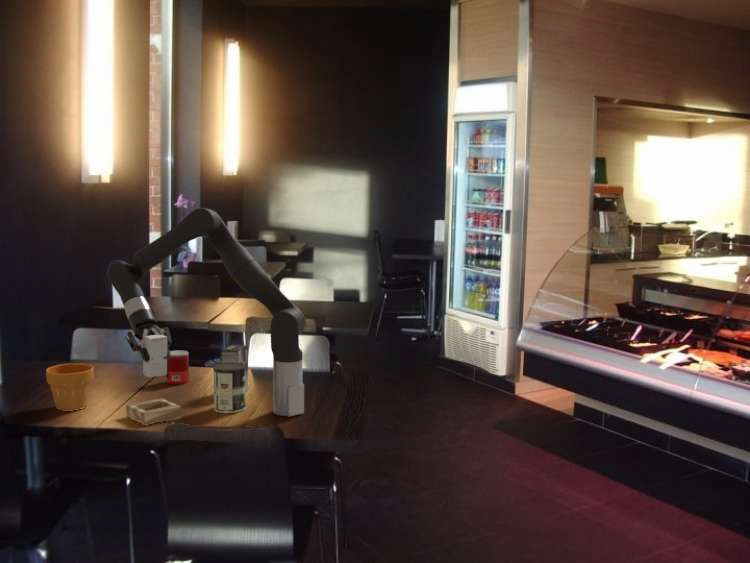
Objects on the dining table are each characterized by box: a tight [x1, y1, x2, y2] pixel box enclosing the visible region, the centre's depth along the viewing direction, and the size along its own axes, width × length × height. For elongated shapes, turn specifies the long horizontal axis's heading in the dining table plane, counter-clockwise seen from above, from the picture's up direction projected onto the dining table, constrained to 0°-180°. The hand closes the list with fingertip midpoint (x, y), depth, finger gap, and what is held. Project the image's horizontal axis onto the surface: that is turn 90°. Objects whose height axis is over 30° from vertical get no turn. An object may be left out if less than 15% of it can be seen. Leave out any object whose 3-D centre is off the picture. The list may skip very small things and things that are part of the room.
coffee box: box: [220, 344, 249, 393], centre depth 278 cm, size 9×6×16 cm
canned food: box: [165, 349, 190, 386], centre depth 291 cm, size 8×8×11 cm
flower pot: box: [45, 362, 95, 410], centre depth 257 cm, size 14×14×13 cm
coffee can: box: [212, 362, 247, 414], centre depth 259 cm, size 10×10×14 cm
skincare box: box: [142, 334, 167, 378], centre depth 248 cm, size 6×4×12 cm
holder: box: [125, 397, 182, 424], centre depth 249 cm, size 12×12×4 cm
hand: (157, 359), depth 246 cm, fingers closed on skincare box, 6 cm apart
